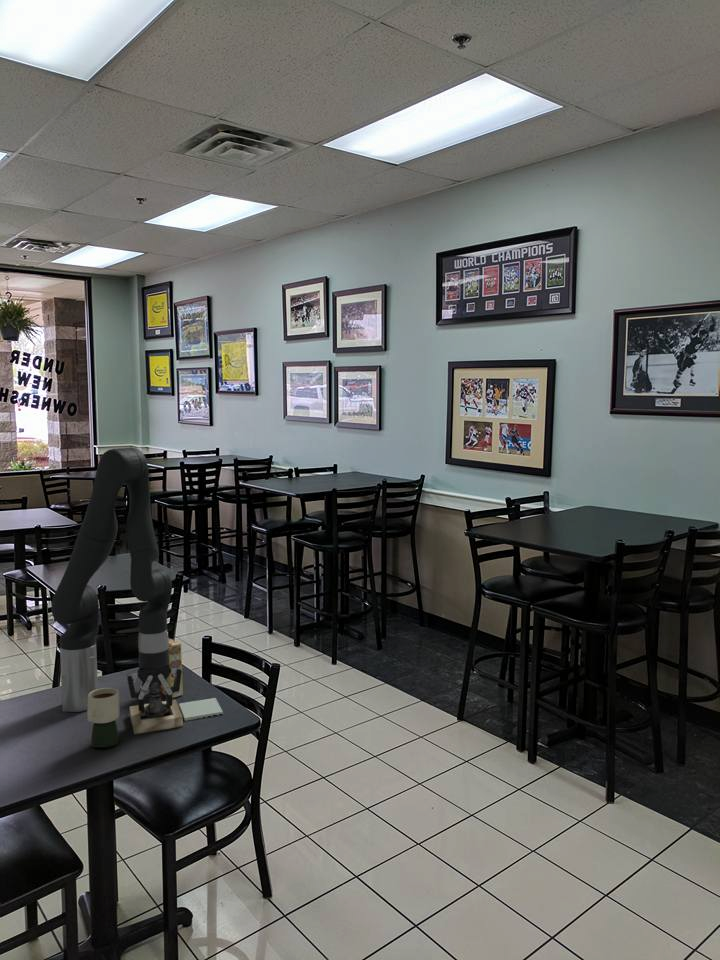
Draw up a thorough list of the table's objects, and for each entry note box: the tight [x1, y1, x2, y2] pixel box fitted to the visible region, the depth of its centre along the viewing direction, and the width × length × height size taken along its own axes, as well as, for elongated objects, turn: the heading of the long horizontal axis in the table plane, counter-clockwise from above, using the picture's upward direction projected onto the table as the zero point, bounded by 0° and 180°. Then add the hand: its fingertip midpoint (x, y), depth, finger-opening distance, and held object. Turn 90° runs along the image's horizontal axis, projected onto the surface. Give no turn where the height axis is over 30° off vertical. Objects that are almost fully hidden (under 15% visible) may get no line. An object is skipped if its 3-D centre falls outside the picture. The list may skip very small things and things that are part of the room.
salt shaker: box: [144, 683, 167, 719], centre depth 185 cm, size 6×6×12 cm
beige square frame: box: [129, 698, 184, 735], centre depth 185 cm, size 12×12×2 cm
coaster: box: [178, 697, 224, 722], centre depth 192 cm, size 10×10×1 cm
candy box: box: [161, 637, 184, 699], centre depth 203 cm, size 9×4×15 cm, turn 44°
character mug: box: [86, 687, 120, 748], centre depth 171 cm, size 11×7×13 cm, turn 161°
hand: (155, 709), depth 185 cm, fingers closed on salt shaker, 6 cm apart
